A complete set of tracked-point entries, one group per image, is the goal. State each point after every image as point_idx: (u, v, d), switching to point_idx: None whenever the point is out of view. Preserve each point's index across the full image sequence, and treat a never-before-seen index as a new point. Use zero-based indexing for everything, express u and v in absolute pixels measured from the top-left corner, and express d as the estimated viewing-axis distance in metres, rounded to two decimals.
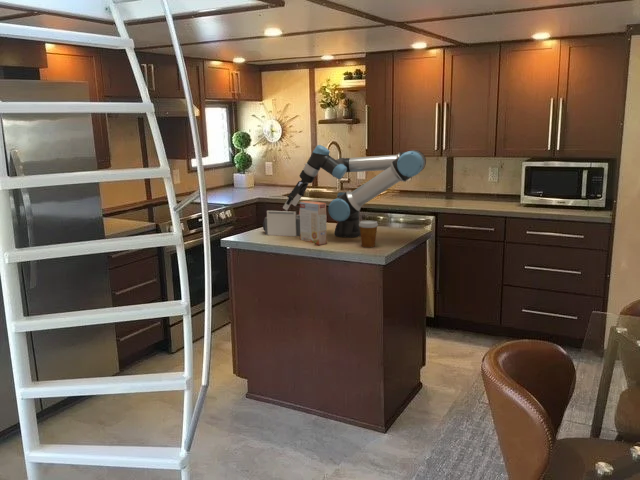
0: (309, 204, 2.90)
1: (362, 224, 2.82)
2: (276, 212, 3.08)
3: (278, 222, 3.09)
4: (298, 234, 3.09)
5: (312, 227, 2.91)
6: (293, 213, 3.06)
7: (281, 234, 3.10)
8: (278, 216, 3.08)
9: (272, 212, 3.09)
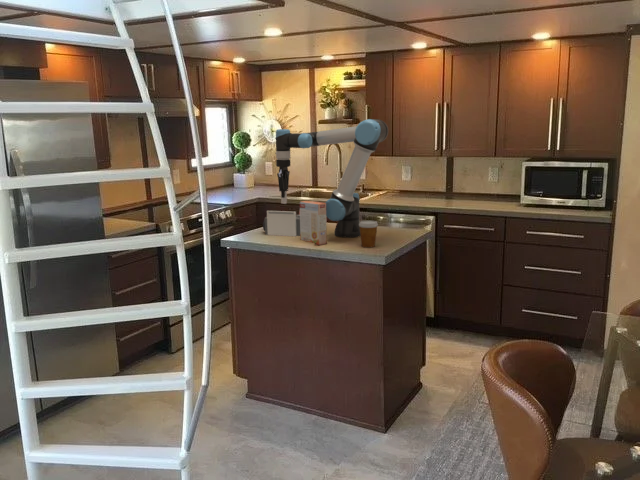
0: (309, 204, 2.90)
1: (362, 224, 2.82)
2: (276, 212, 3.08)
3: (278, 222, 3.09)
4: (298, 234, 3.09)
5: (312, 227, 2.91)
6: (293, 213, 3.06)
7: (281, 234, 3.10)
8: (278, 216, 3.08)
9: (272, 212, 3.09)
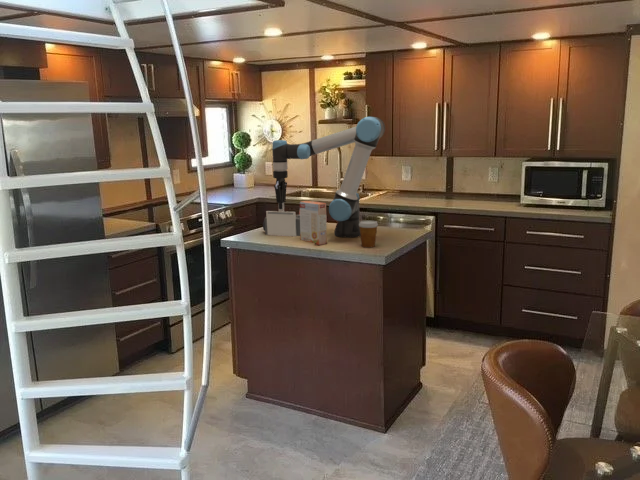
0: (309, 204, 2.90)
1: (362, 224, 2.82)
2: (276, 212, 3.08)
3: (278, 222, 3.09)
4: (298, 234, 3.09)
5: (312, 227, 2.91)
6: (293, 213, 3.05)
7: (281, 234, 3.10)
8: (278, 216, 3.08)
9: (272, 212, 3.08)
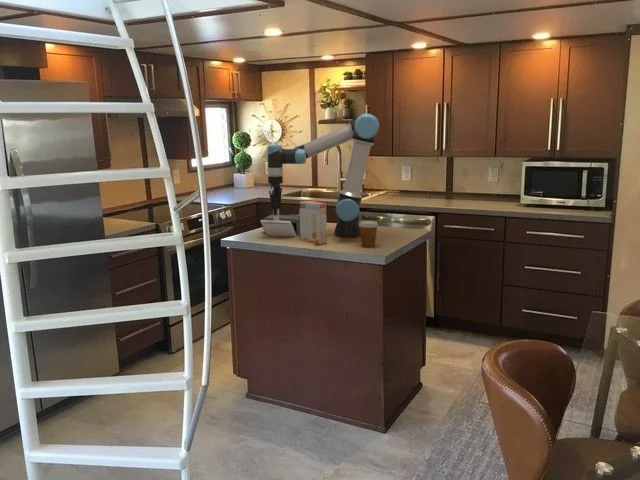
0: (309, 204, 2.90)
1: (362, 224, 2.82)
2: (270, 222, 3.01)
3: (275, 228, 3.05)
4: (298, 234, 3.09)
5: (312, 227, 2.91)
6: (288, 223, 2.99)
7: (281, 235, 3.10)
8: (273, 225, 3.03)
9: (266, 222, 3.02)
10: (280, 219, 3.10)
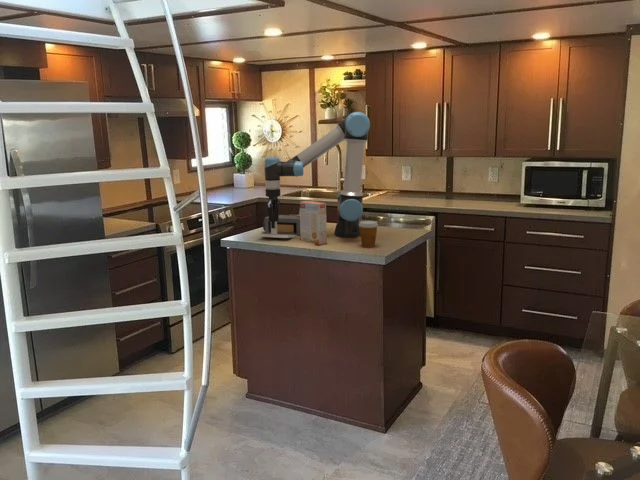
0: (309, 204, 2.90)
1: (362, 224, 2.82)
2: None
3: None
4: (298, 234, 3.09)
5: (312, 227, 2.91)
6: (286, 237, 2.97)
7: None
8: None
9: (265, 236, 3.00)
10: (280, 219, 3.10)
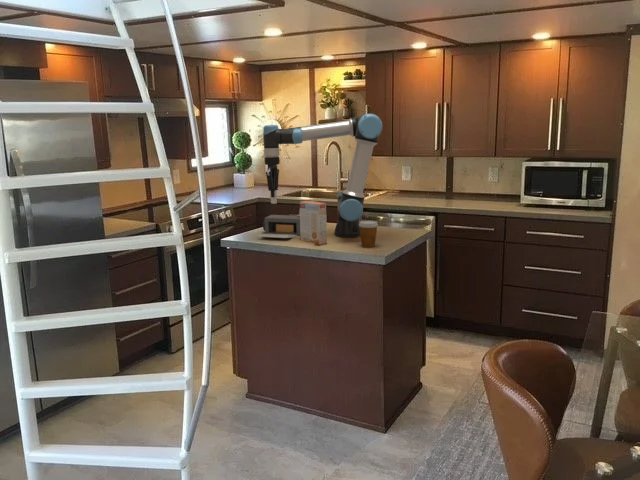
0: (309, 204, 2.90)
1: (362, 224, 2.82)
2: None
3: None
4: (298, 234, 3.09)
5: (312, 227, 2.91)
6: (286, 237, 2.97)
7: None
8: None
9: (265, 236, 3.00)
10: (280, 219, 3.10)
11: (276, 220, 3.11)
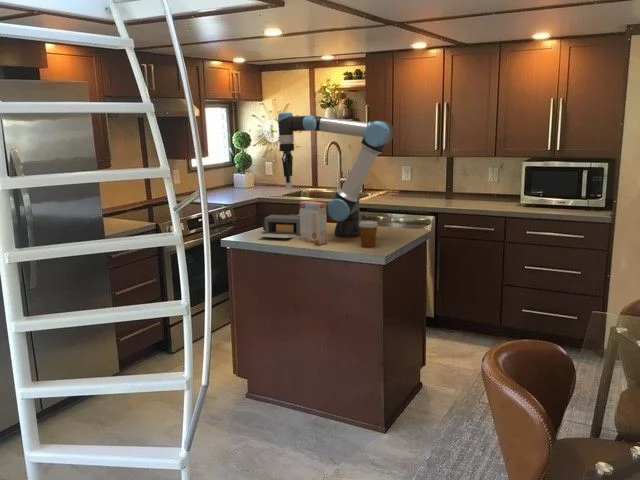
0: (309, 204, 2.90)
1: (362, 224, 2.82)
2: None
3: None
4: (298, 234, 3.09)
5: (312, 227, 2.91)
6: (286, 237, 2.97)
7: None
8: None
9: (265, 236, 3.00)
10: (280, 219, 3.10)
11: (276, 220, 3.11)
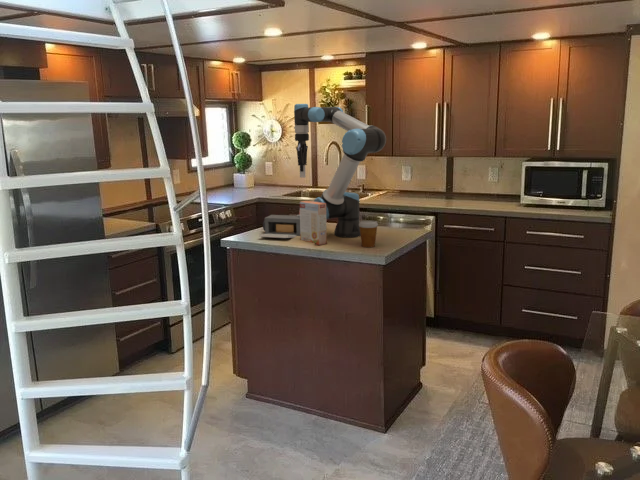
0: (309, 204, 2.90)
1: (362, 224, 2.82)
2: None
3: None
4: (298, 234, 3.09)
5: (312, 227, 2.91)
6: (286, 237, 2.97)
7: None
8: None
9: (265, 236, 3.00)
10: (280, 219, 3.10)
11: (276, 220, 3.11)
